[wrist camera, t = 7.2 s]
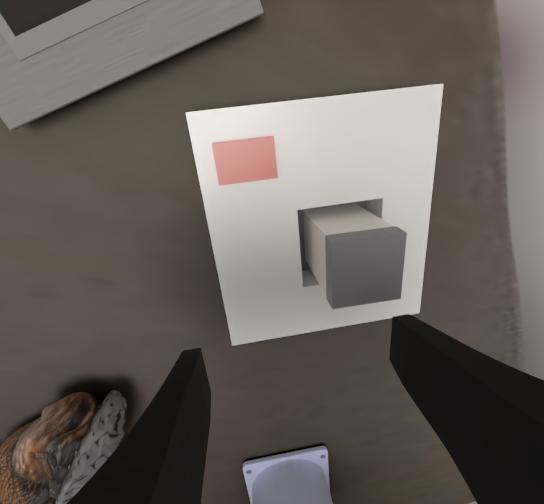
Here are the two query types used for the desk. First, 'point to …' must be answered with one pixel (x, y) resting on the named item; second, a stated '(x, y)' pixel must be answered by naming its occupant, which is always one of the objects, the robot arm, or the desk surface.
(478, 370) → the robot arm
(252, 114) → the socket plate
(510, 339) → the desk surface
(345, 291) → the plug
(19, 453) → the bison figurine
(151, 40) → the electrical outlet
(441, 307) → the desk surface
